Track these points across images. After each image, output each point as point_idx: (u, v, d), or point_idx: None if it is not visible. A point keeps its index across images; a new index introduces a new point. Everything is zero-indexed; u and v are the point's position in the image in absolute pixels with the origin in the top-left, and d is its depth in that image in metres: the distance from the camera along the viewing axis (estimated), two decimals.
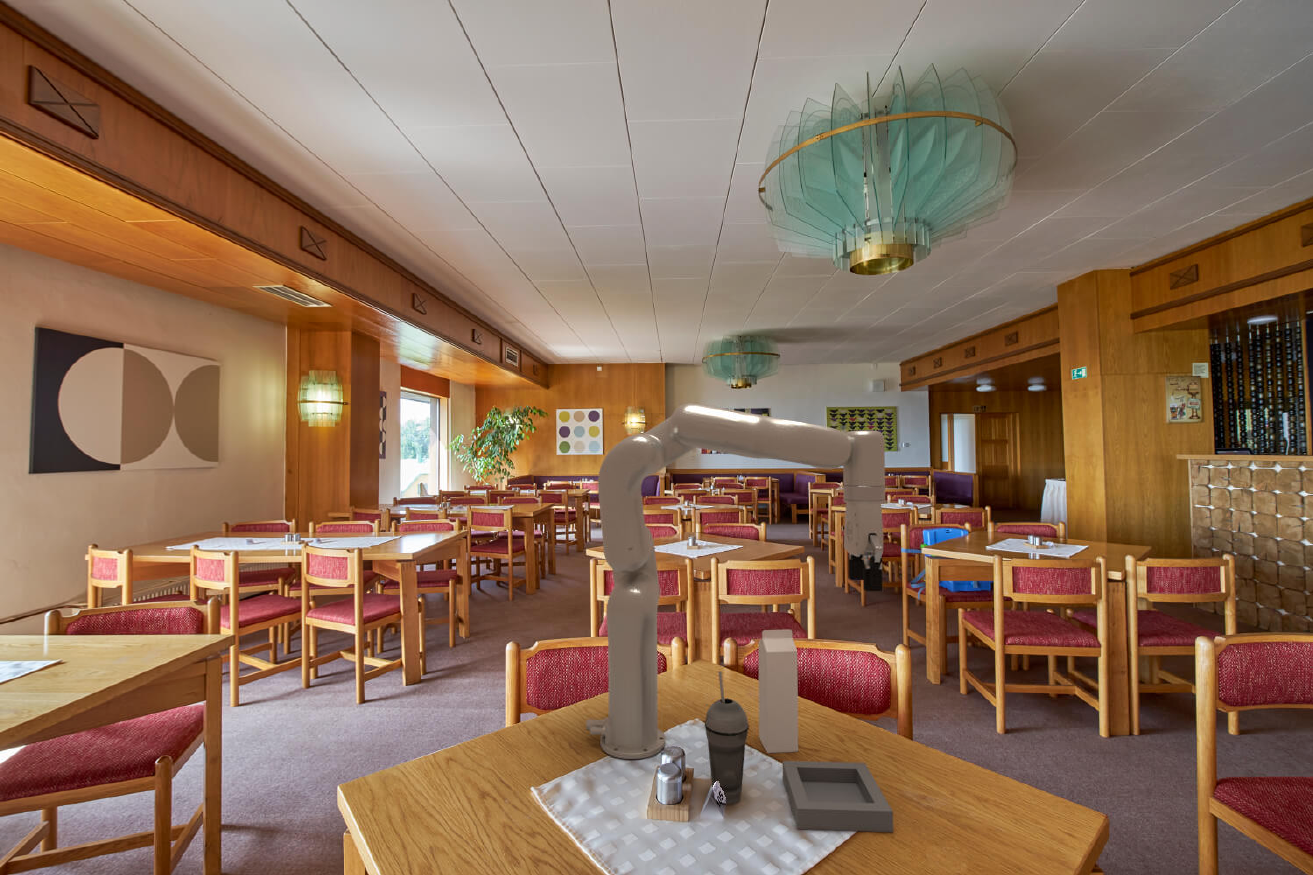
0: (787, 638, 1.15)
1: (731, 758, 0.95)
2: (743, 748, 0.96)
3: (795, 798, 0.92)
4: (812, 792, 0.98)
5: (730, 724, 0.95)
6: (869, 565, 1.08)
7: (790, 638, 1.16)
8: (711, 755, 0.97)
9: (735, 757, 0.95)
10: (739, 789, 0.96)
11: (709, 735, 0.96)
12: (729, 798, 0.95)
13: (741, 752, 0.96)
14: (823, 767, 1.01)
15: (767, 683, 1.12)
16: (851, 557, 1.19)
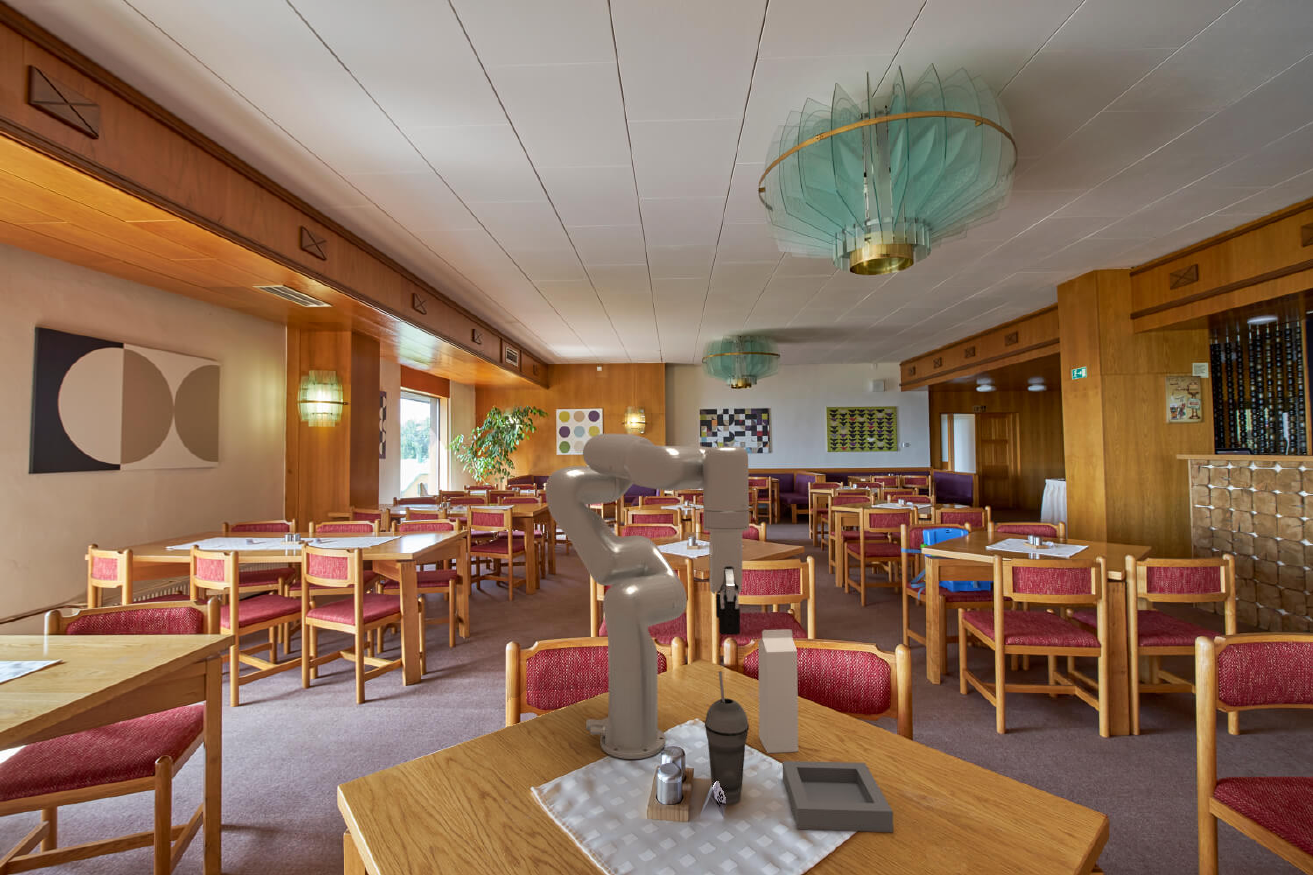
0: (787, 638, 1.15)
1: (731, 758, 0.95)
2: (743, 748, 0.96)
3: (795, 798, 0.92)
4: (812, 792, 0.98)
5: (730, 724, 0.95)
6: (723, 604, 0.92)
7: (790, 638, 1.16)
8: (711, 755, 0.97)
9: (735, 757, 0.95)
10: (739, 789, 0.96)
11: (709, 735, 0.96)
12: (729, 798, 0.95)
13: (741, 752, 0.96)
14: (823, 767, 1.01)
15: (767, 683, 1.12)
16: (718, 591, 1.03)
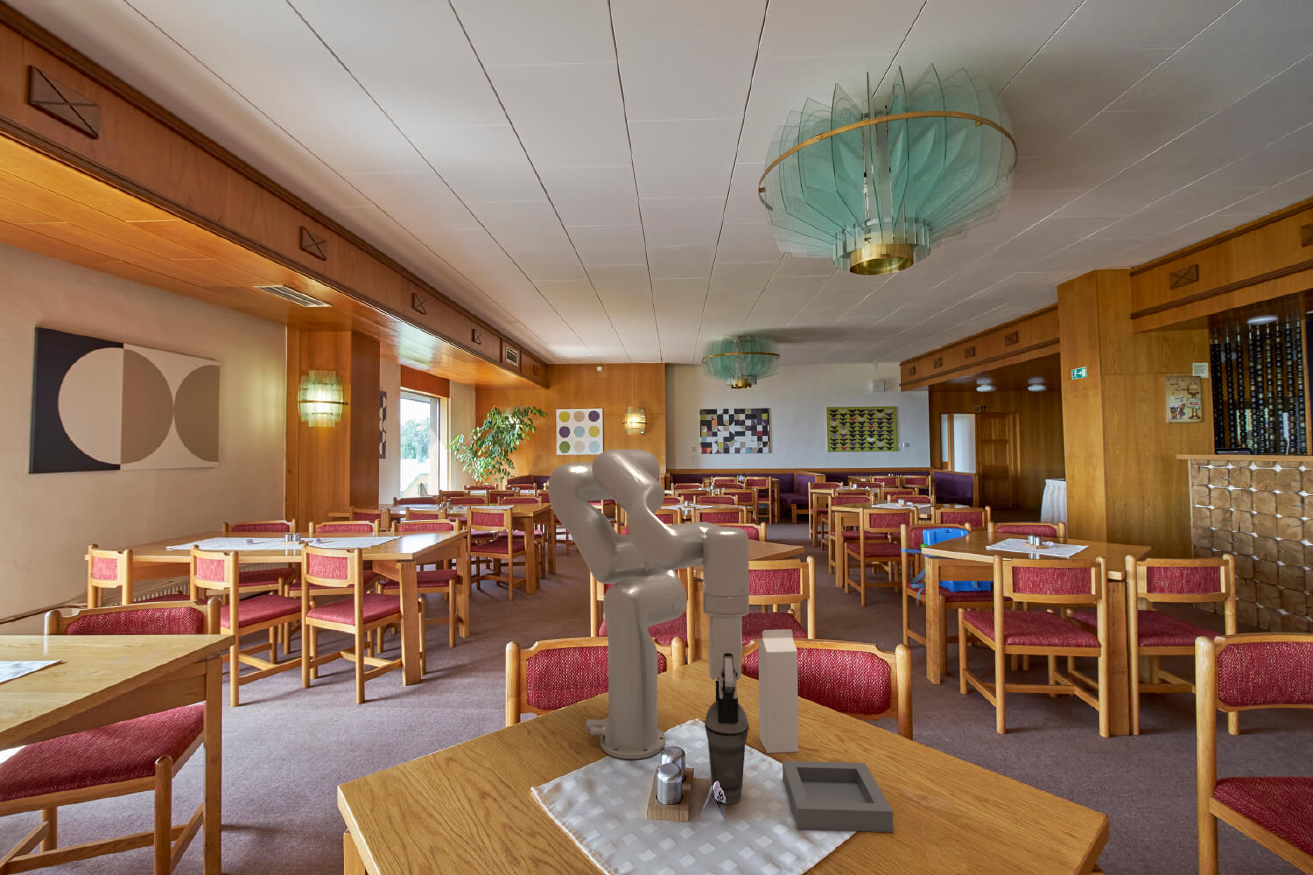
0: (787, 638, 1.15)
1: (731, 758, 0.95)
2: (743, 748, 0.96)
3: (795, 798, 0.92)
4: (812, 792, 0.98)
5: (730, 724, 0.95)
6: (722, 695, 0.94)
7: (790, 638, 1.16)
8: (711, 755, 0.97)
9: (735, 757, 0.95)
10: (739, 789, 0.96)
11: (709, 735, 0.96)
12: (729, 798, 0.95)
13: (741, 752, 0.96)
14: (823, 767, 1.01)
15: (767, 683, 1.12)
16: (718, 677, 1.02)
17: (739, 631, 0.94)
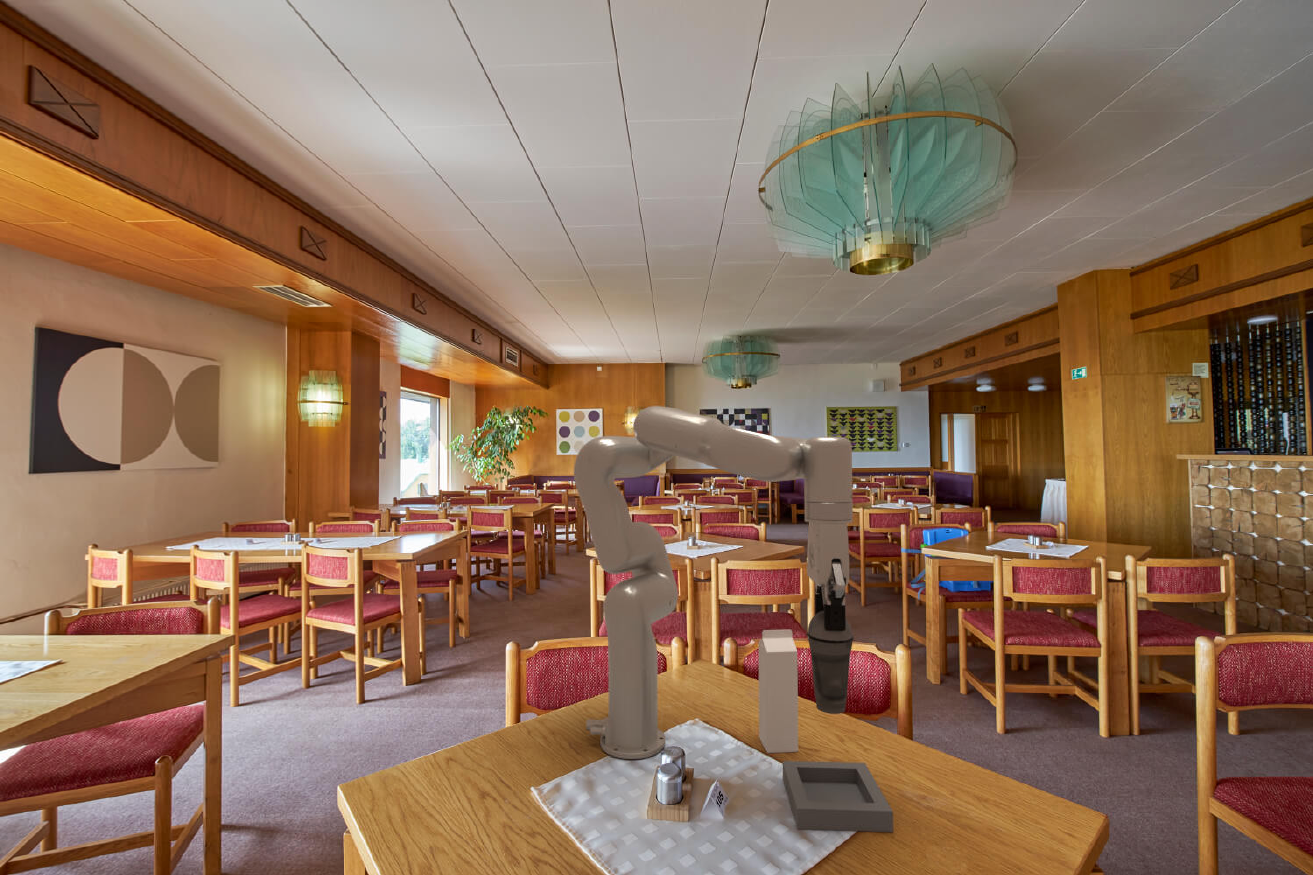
0: (787, 638, 1.15)
1: (838, 666, 0.94)
2: (848, 657, 0.95)
3: (795, 798, 0.92)
4: (812, 792, 0.98)
5: (837, 631, 0.93)
6: (830, 601, 0.92)
7: (790, 638, 1.16)
8: (816, 665, 0.95)
9: (841, 666, 0.94)
10: (845, 699, 0.95)
11: (814, 644, 0.95)
12: (835, 707, 0.94)
13: (847, 661, 0.94)
14: (823, 767, 1.01)
15: (767, 683, 1.12)
16: (817, 591, 1.00)
17: (846, 537, 0.93)
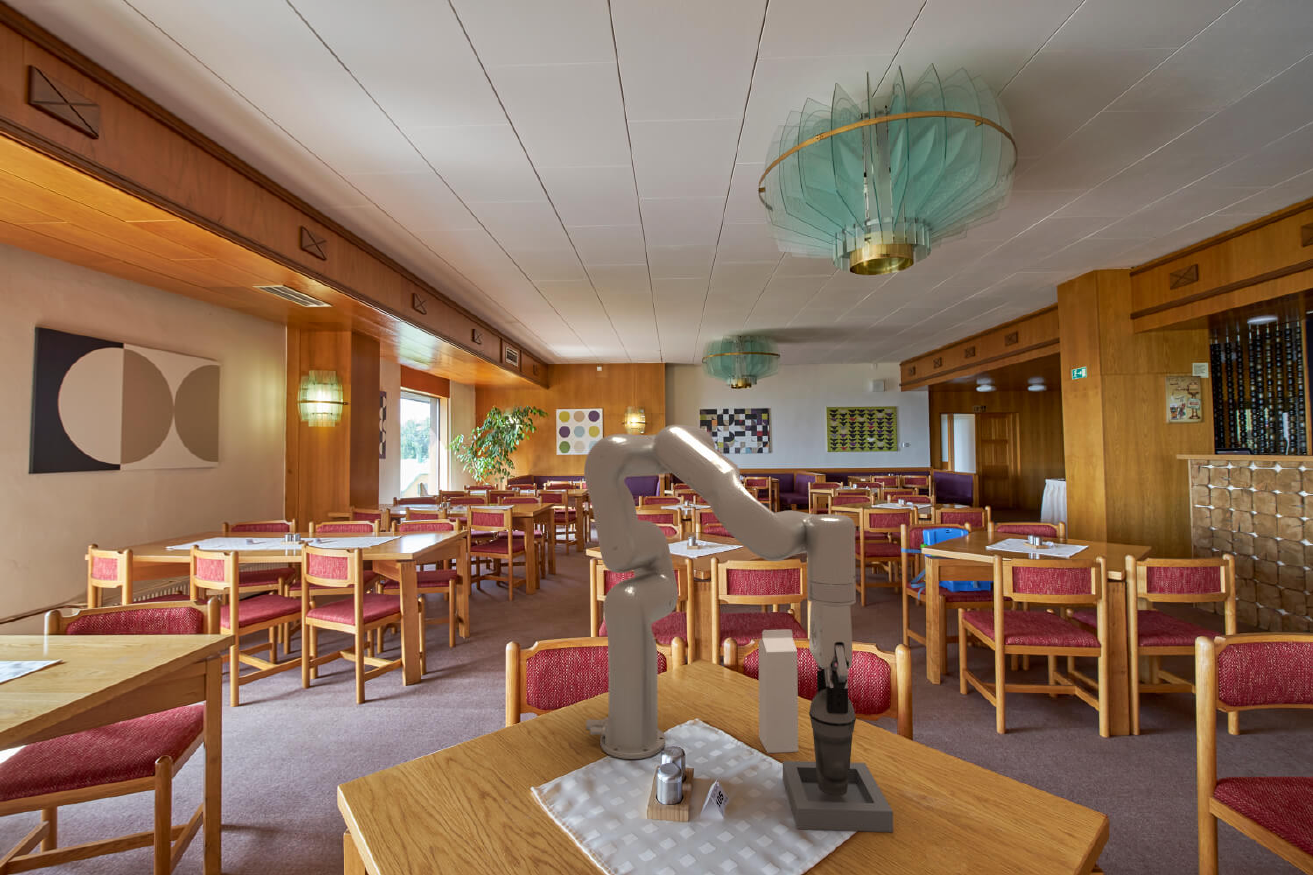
0: (787, 638, 1.15)
1: (840, 749, 0.93)
2: (851, 739, 0.95)
3: (795, 798, 0.92)
4: (812, 792, 0.98)
5: (840, 714, 0.93)
6: (832, 684, 0.92)
7: (790, 638, 1.16)
8: (818, 746, 0.95)
9: (844, 748, 0.93)
10: (847, 780, 0.94)
11: (816, 725, 0.94)
12: (837, 789, 0.94)
13: (849, 742, 0.94)
14: None
15: (767, 683, 1.12)
16: (820, 667, 1.00)
17: (850, 619, 0.92)
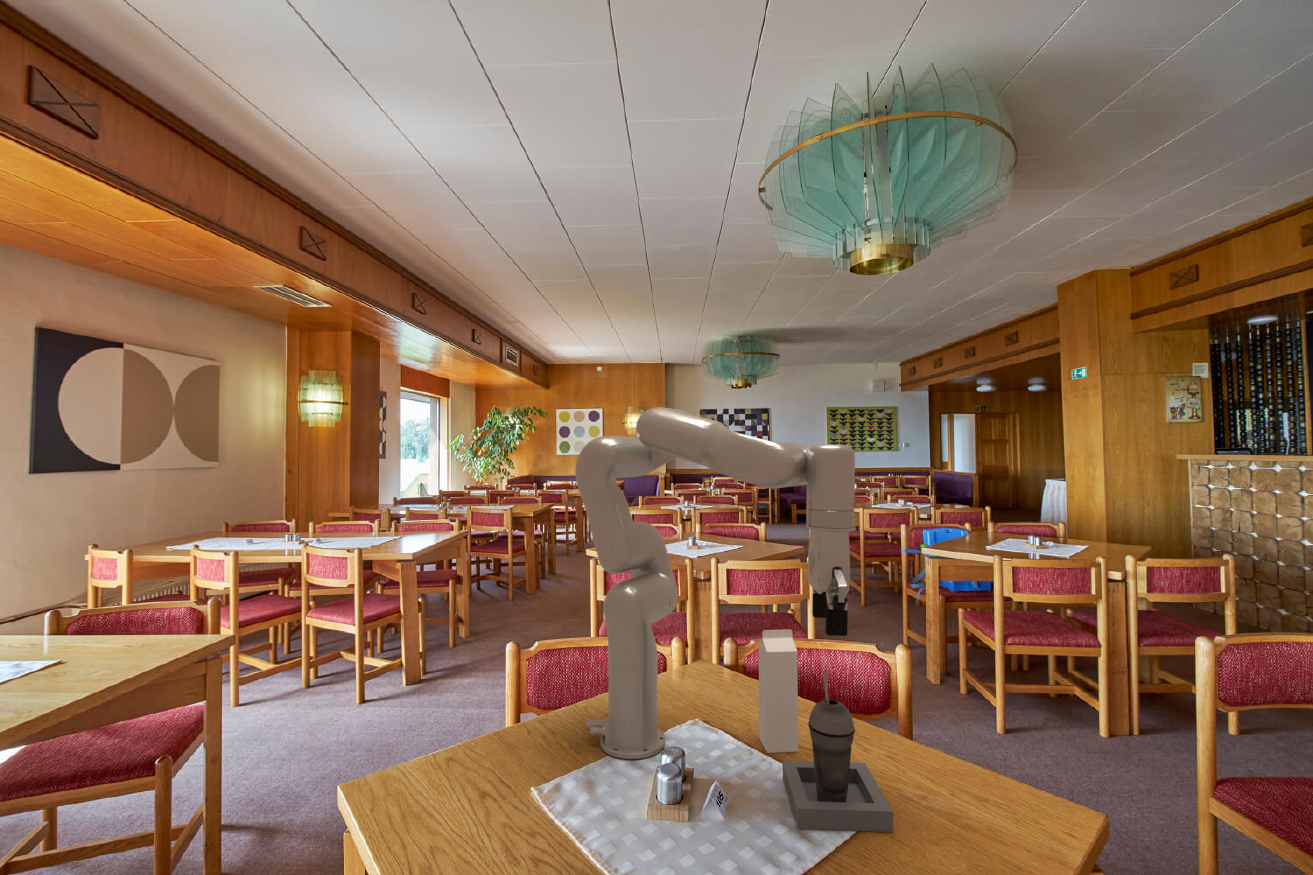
0: (787, 638, 1.15)
1: (839, 760, 0.93)
2: (850, 750, 0.94)
3: (795, 798, 0.92)
4: (812, 792, 0.98)
5: (839, 725, 0.93)
6: (832, 605, 0.91)
7: (790, 638, 1.16)
8: (817, 757, 0.95)
9: (843, 759, 0.93)
10: (846, 792, 0.94)
11: (815, 736, 0.94)
12: (836, 801, 0.94)
13: (848, 754, 0.94)
14: None
15: (767, 683, 1.12)
16: (815, 591, 1.02)
17: (848, 545, 0.93)
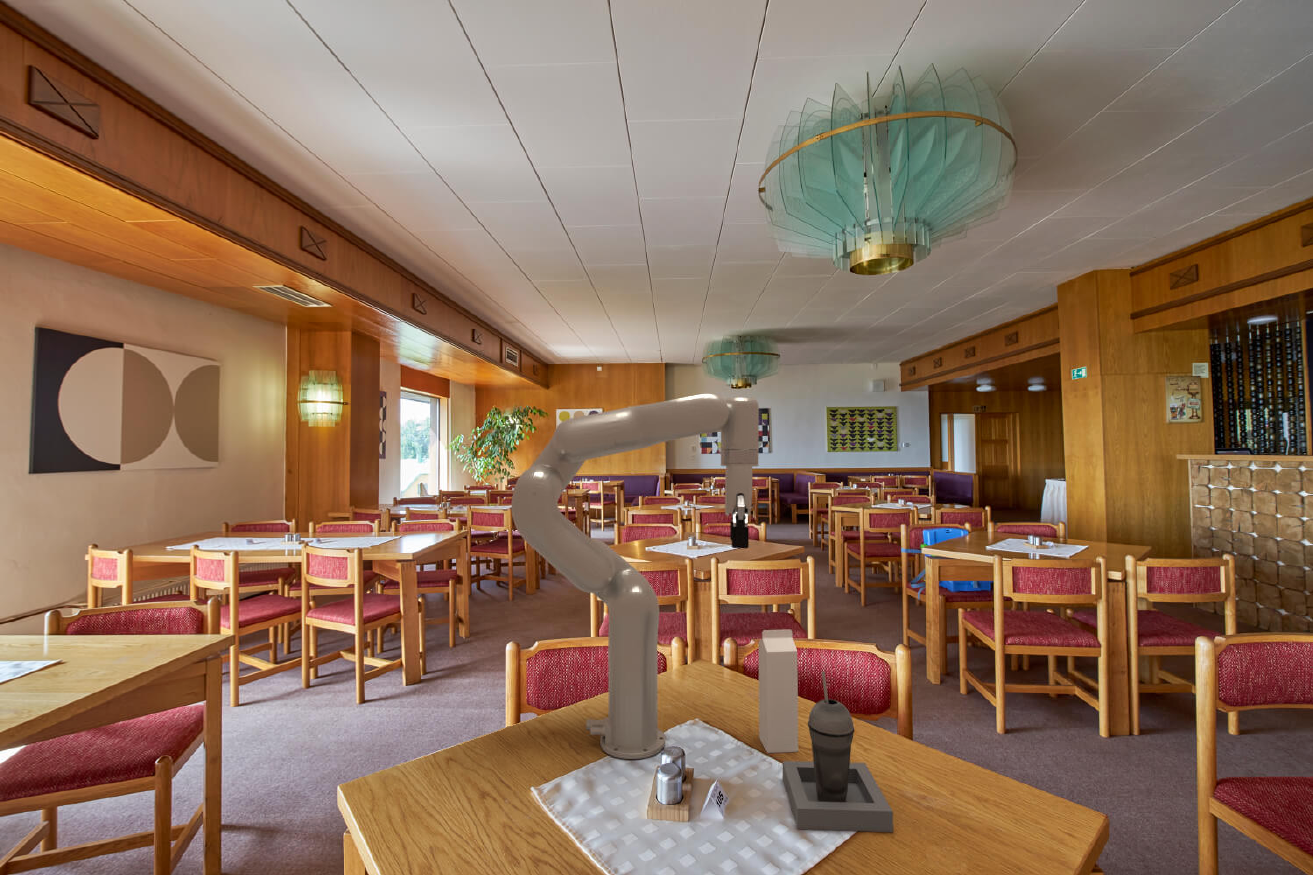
0: (787, 638, 1.15)
1: (839, 760, 0.93)
2: (849, 750, 0.94)
3: (795, 798, 0.92)
4: (812, 792, 0.98)
5: (838, 725, 0.93)
6: (735, 523, 1.14)
7: (790, 638, 1.16)
8: (816, 757, 0.95)
9: (842, 759, 0.93)
10: (846, 791, 0.94)
11: (815, 736, 0.95)
12: (836, 801, 0.94)
13: (848, 753, 0.94)
14: None
15: (767, 683, 1.12)
16: (732, 519, 1.25)
17: (749, 476, 1.16)
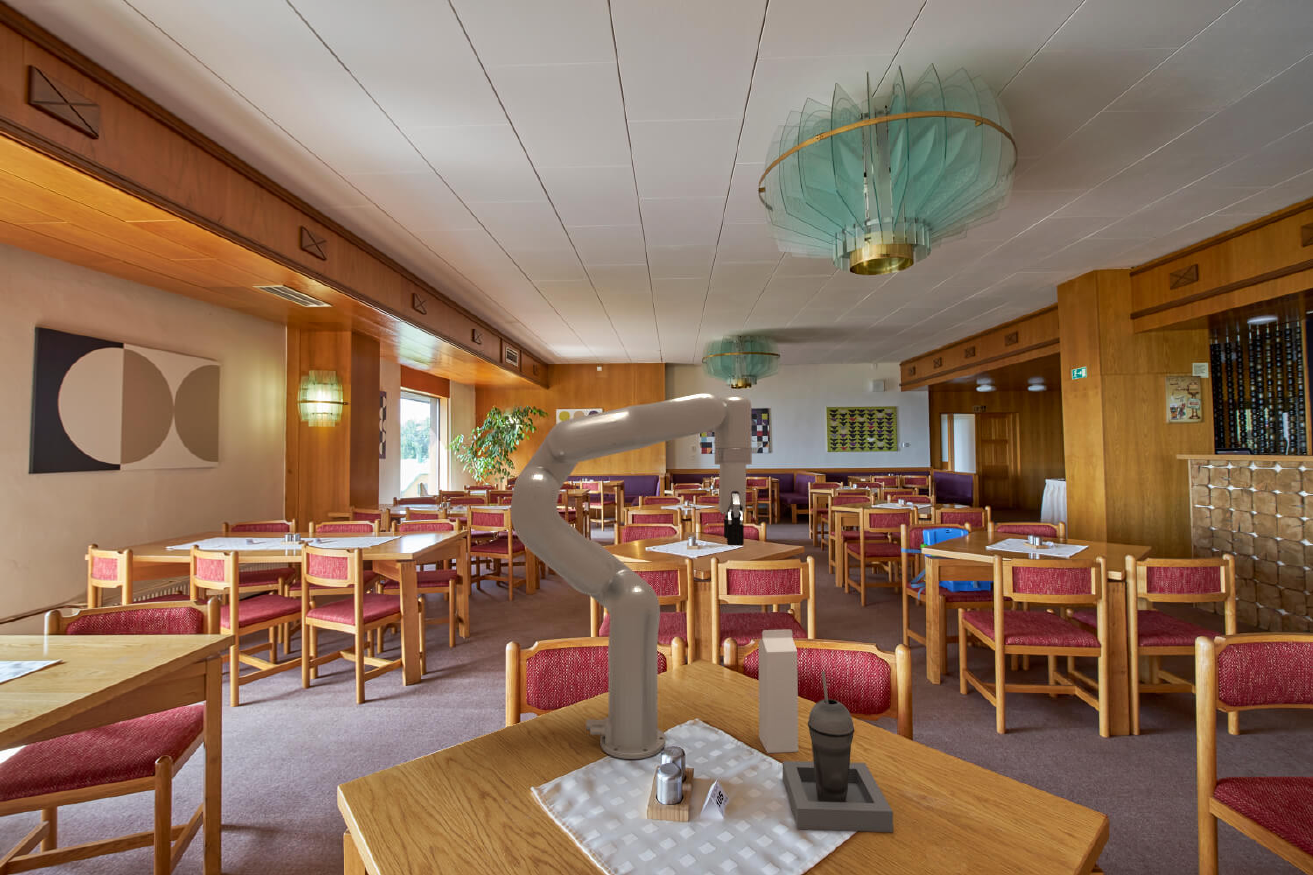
0: (787, 638, 1.15)
1: (839, 760, 0.93)
2: (849, 750, 0.94)
3: (795, 798, 0.92)
4: (812, 792, 0.98)
5: (838, 725, 0.93)
6: (730, 521, 1.16)
7: (790, 638, 1.16)
8: (816, 757, 0.95)
9: (842, 759, 0.93)
10: (846, 791, 0.94)
11: (815, 736, 0.95)
12: (836, 801, 0.94)
13: (848, 753, 0.94)
14: None
15: (767, 683, 1.12)
16: (726, 517, 1.27)
17: (744, 474, 1.18)
